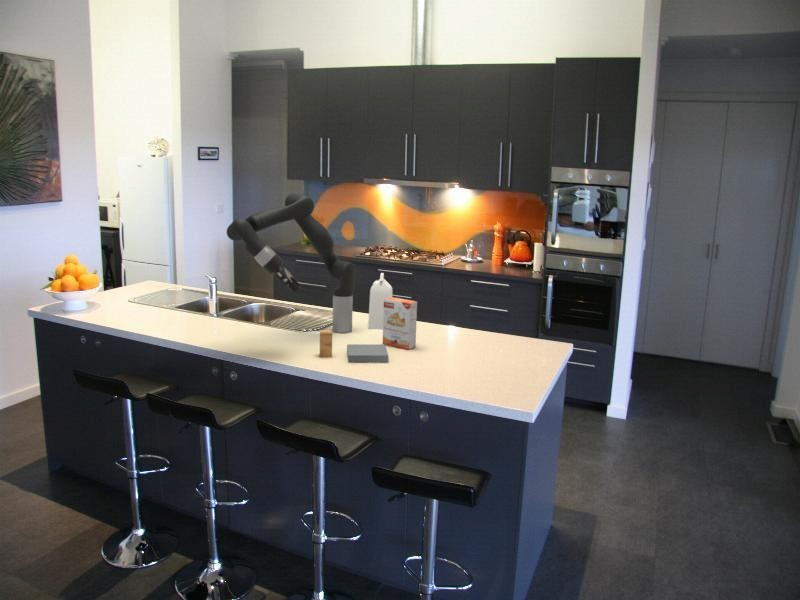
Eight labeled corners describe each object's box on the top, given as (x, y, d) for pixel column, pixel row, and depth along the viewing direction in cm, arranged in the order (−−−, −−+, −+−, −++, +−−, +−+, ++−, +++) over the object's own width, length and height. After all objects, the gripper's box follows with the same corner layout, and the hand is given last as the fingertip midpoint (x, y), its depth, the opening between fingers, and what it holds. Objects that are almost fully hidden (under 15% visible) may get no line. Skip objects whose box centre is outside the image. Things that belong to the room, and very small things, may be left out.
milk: (392, 329, 323) (393, 276, 317) (368, 329, 323) (369, 275, 317) (392, 323, 334) (394, 272, 329) (369, 322, 334) (370, 271, 329)
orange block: (319, 353, 280) (319, 330, 278) (331, 353, 280) (332, 330, 278) (319, 357, 275) (319, 333, 273) (331, 357, 276) (332, 333, 274)
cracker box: (381, 344, 296) (383, 298, 292) (389, 341, 301) (390, 296, 297) (408, 350, 289) (410, 303, 285) (415, 347, 294) (417, 300, 290)
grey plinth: (347, 351, 285) (347, 344, 284) (384, 351, 286) (384, 344, 286) (348, 362, 269) (348, 355, 268) (388, 362, 271) (388, 355, 270)
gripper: (274, 255, 260) (303, 285, 263) (276, 250, 273) (304, 278, 277) (260, 268, 260) (290, 298, 264) (263, 263, 274) (291, 291, 278)
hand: (297, 288), depth 270 cm, fingers open, 8 cm apart
